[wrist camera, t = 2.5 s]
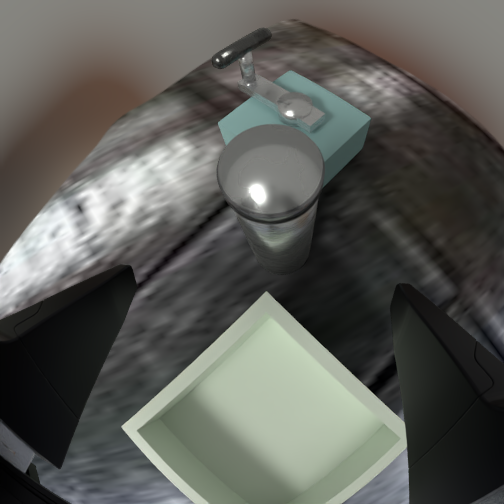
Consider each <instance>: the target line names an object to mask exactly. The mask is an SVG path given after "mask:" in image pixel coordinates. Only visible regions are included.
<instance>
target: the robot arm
mask: <svg viewBox="0 0 504 504" xmlns="http://www.w3.org/2000/svg"><path fill="white" fill-rule="evenodd" d="M136 289H137V284H136V280H135V276H134V273H133V269H132V267H131V266H130V265H126V264H119V265H117V266H115V267H113V268H110V269H108V270H106V271H104V272H102V273H99V274H97V275H95V276H93V277H91V278H89V279H86V280H84V281H82V282H80V283H78V284H76V285H74V286H71V287H69V288H67V289H65V290H63V291H61V292H59V293H57V294H55V295H53V296H51V297H49V298H47V299H44V301H40V302H38V303H36V304H34V305H32V306H30V307H28V308H26V309H24V310H21V311H19V312H17V313H15V314H12V315H10V316H8V317H6V318H3V319H1V320H0V504H71V503H69V502H68V501H66V500H64V499H63V498H61V497H59V496H58V495H56V494H54V493H53V492H51V491H50V490H48V489H47V488H45V487H44V486H42V485H41V484H40V481H39V477H38V474H37V470H36V466H35V465H34V464H32V463H31V461H32V460H33V458H34V456H35V454H36V455H37V456H39V457H40V458H42V459H43V460H45V461H46V462H48V463H50V464H51V465H53V466H54V467H56V468H58V469H61V467H62V465H63V462H64V459H65V456H66V453H67V451H68V448H69V445H70V443H71V440H72V437H73V435H74V432H75V430H76V427H77V425H78V422H79V420H78V419H80V417H81V414H82V412H83V410H84V407H85V405H86V403H87V400H88V398H89V396H90V393H91V391H92V389H93V386H94V384H95V382H96V380H97V377H98V375H99V373H100V371H101V369H102V367H103V364H104V362H105V360H106V358H107V356H108V354H109V352H110V350H111V347H112V345H113V343H114V341H115V339H116V337H117V335H118V333H119V331H120V329H121V327H122V325H123V323H124V320H125V318H126V315H127V313H128V310H129V307H130V305H131V302H132V300H133V297H134V295H135V292H136ZM390 312H391V322H392V333H393V346H394V354H395V359H396V365H397V371H398V377H399V383H400V390H401V397H402V404H403V412H404V420H405V429H406V440H407V452H408V468H409V504H504V364H503V363H502V362H501V361H500V360H498V359H497V358H496V357H495V356H494V355H493V354H491V353H490V352H489V351H488V350H487V349H486V348H485V347H483V346H482V345H481V344H480V343H479V342H478V341H476V339H475V338H473V337H472V336H471V335H470V334H469V333H468V332H467V331H465V330H464V329H463V328H462V327H461V326H460V325H459V324H457V323H456V322H455V321H454V320H453V319H452V318H450V317H449V316H448V315H447V314H446V313H444V312H443V311H442V310H441V309H440V308H439V307H437V306H436V305H435V304H434V303H432V302H431V301H430V300H429V299H428V298H426V297H425V296H424V295H423V294H421V293H420V292H419V291H418V290H416V289H415V288H414V287H413V286H411V285H410V284H405V283H399V284H397V286H396V288H395V291H394V295H393V298H392V302H391V306H390Z"/></svg>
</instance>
